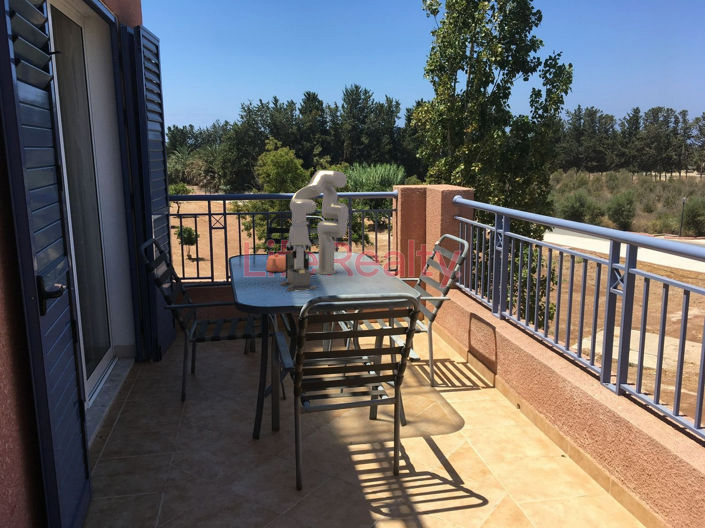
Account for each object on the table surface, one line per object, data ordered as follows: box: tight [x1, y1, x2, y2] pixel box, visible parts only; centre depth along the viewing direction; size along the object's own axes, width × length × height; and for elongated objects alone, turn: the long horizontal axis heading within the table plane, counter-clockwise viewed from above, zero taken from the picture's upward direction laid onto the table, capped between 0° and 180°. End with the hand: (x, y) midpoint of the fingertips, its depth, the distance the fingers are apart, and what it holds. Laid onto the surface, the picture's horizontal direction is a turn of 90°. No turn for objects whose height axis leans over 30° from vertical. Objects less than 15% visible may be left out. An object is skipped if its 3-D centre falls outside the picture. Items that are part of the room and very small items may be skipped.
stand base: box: [280, 268, 318, 292], centre depth 305 cm, size 16×16×10 cm
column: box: [294, 245, 304, 272], centre depth 303 cm, size 5×4×16 cm
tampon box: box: [285, 251, 310, 279], centre depth 324 cm, size 11×9×15 cm
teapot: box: [265, 253, 286, 273], centre depth 341 cm, size 12×18×10 cm, turn 175°
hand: (298, 257), depth 303 cm, fingers closed on column, 4 cm apart
